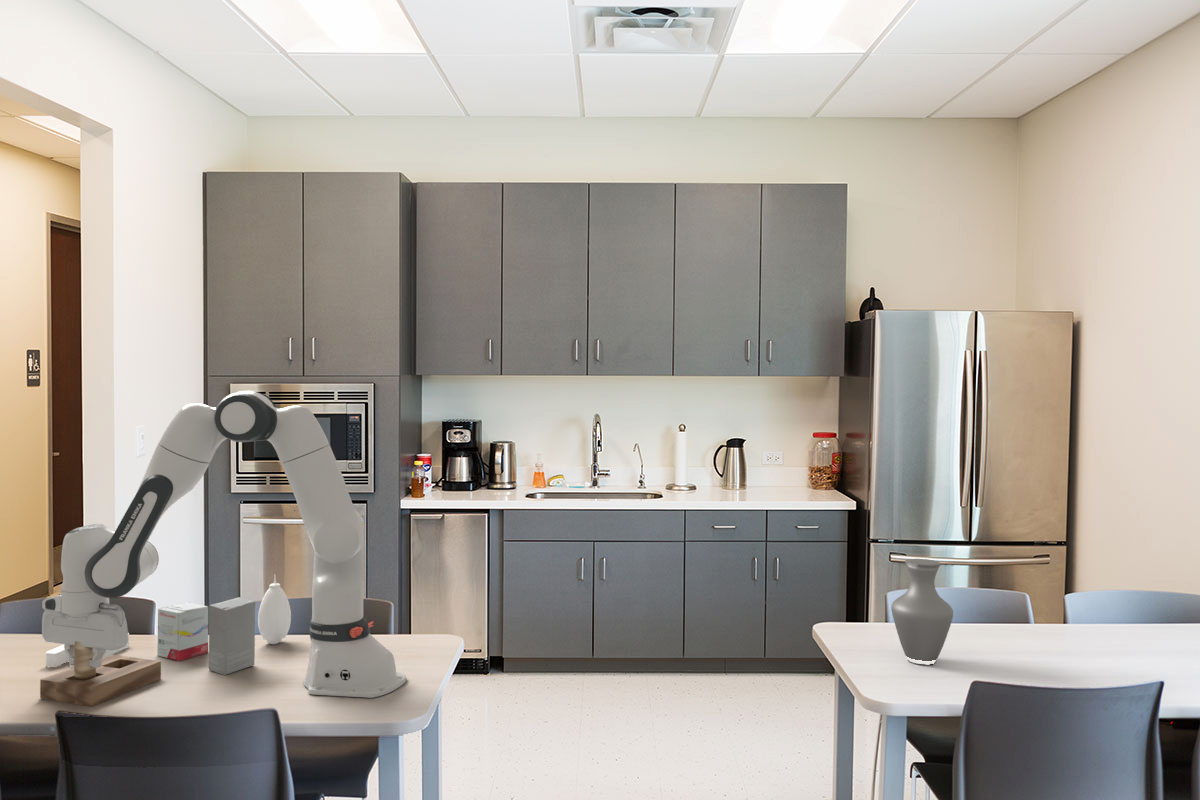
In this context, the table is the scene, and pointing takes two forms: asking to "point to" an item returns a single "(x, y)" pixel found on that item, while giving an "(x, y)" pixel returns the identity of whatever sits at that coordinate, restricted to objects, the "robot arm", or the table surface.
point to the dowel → (83, 663)
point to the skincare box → (231, 635)
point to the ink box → (182, 631)
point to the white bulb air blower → (274, 614)
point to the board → (101, 681)
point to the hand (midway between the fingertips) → (85, 665)
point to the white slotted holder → (60, 657)
